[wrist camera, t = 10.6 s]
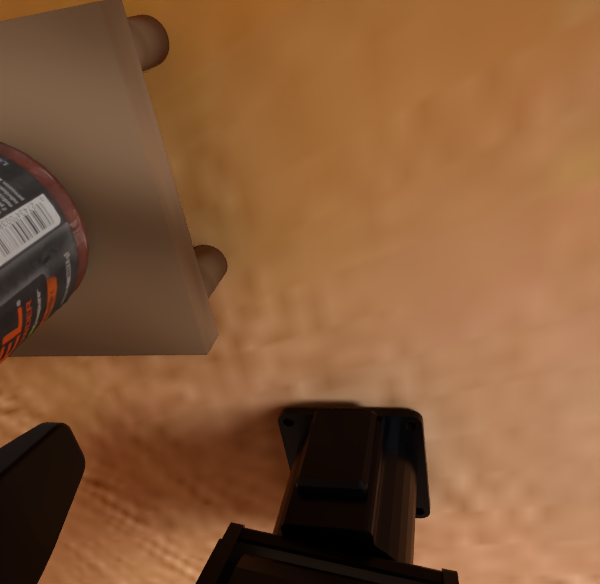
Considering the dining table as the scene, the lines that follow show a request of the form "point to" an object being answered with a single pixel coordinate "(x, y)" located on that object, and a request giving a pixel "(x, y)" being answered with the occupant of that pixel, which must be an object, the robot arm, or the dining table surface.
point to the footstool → (108, 182)
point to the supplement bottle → (35, 247)
